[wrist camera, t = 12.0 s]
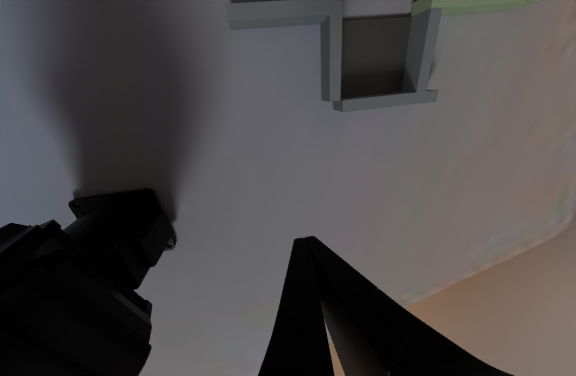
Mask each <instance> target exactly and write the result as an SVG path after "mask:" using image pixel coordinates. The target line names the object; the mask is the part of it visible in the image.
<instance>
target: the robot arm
mask: <svg viewBox="0 0 576 376" xmlns="http://www.w3.org/2000/svg"><path fill="white" fill-rule="evenodd" d="M146 193H148V194H149V195H150V196H147V195H146ZM76 203H77V204H78V205H79V206H78V205H77V204H76ZM68 205H69V207H70V209H71V210H72V212H73V213H74V215H75V216H76V218H77V220H76V221H75V222H73V223H72V224H71V225H69V226H68V227H67V228H65V229H64V230H62V229H61V228H60V227H61V225H60V224H58V223H57V222H56V221H55V220H54V219H53V220H51V221H48V222H46V223H44V224H41V225H39V226H38V225H35V226H31V225H29V226H25V225H20V224H15V223H10V224H7V225H5V226H3V227H0V376H139V374H140V372H141V371H142V369H143V367H144V365H145V363H146V361H147V359H148V356H149V354H150V351H151V345H150V344H149V340H150V334H151V329H152V325H151V321H150V319H151V311H152V304H151V303H150V302H149V301H148V300H144V299H143V298H142V297H141V296H139V295H138V294H137V293H136V292H135V291H134V289H138V288H139V286H140V285H141V283H142V281H143V279H144V278H145V276H146V274H147V272H148V270H149V269H150V267H154V266H155V265H156V264H157V262H158V260H159V259H160V257H161V255H162V253H163V251H167V250H172V249H174V247H175V245H176V241H175V239H174V237H173V230H172V228H171V225H170V223H169V221H168V218H167V216H166V214H165V211H163V210H162V208H161V206H160V204H159V201H158V199H157V197H156V194H155V192H154V191H153V190H152V189H139V190H132V191H125V192H118V193H110V194H103V195H96V196H88V197H81V198H75V199H73V200H71V201H70V202H69V204H68ZM169 244H171V245H169ZM324 320H325V322H326V325H327V328H328V330H329V333H330V336H331V339H332V341H333V344H334V347H335V349H336V352H337V355H338V357H339V360H340V363H341V365H342V368H343V371H344V373H345V376H514V375H511V374H508V373H506V372H503V371H501V370H499V369H496V368H494V367H492V366H490V365H488V364H486V363H485V362H483V361H481V360H479V359H477V358H476V357H474V356H473V355H471V354H470V353H468V352H467V351H465V350H464V349H462V348H461V347H459V346H458V345H456V344H455V343H453V342H452V341H451V340H449V339H448V338H446V337H445V336H443V335H442V334H440V333H439V332H437V331H436V330H434V329H433V328H431V327H430V326H428V325H427V324H426V323H424V322H423V321H421V320H420V319H418V318H417V317H415V316H414V315H413V314H411V313H410V312H408V311H407V310H406V309H404V308H403V307H402V306H400V305H399V304H398V303H396V302H395V301H394V300H393V299H391V298H390V297H389V296H387V295H386V294H385V293H384V292H383V291H381V290H380V289H378V288H377V287H376V286H375V285H374V284H373V283H371V282H370V281H369V280H368V279H366V278H365V277H364V276H363V275H361V274H360V273H359V272H358V271H357V270H355V269H354V268H353V267H352V266H350V265H349V264H348V263H347V262H346V261H344V260H343V259H342V258H341V257H339V256H338V255H337V254H336V253H334V252H333V251H332V250H331V249H330V248H328V247H327V246H326V245H325V244H323V243H322V242H321V241H320V240H318V239H317V238H316V237H315V236H309V237H305V238H297V239H294V243H293V247H292V251H291V256H290V260H289V265H288V269H287V273H286V278H285V282H284V286H283V291H282V295H281V300H280V304H279V309H278V312H277V316H276V321H275V325H274V328H273V332H272V336H271V339H270V342H269V345H268V348H267V351H266V354H265V357H264V360H263V363H262V365H261V368H260V371H259V374H258V376H334V370H333V365H332V359H331V354H330V349H329V343H328V338H327V333H326V327H325V322H324Z"/></svg>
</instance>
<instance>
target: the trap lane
mask: <svg viewBox="0 0 576 376" xmlns="http://www.w3.org/2000/svg"><path fill="white" fill-rule="evenodd" d="M537 1H540V0H417V1H416V2H414V3H412V9H411V16H410V17H397V18H382V19H367V20H353V21H342V14H343V0H282V1H264V2H247V3H229V4H226V10H227V16H228V22H229V24H230V27H231V30H233V29H248V28H262V27H277V26H291V25H305V24H320V23H321V91H322V100H323V101H328V102H332V101H333V109H334V110H338V111H341V112H346V111H355V110H364V109H373V108H381V107H390V106H399V105H408V104H417V103H426V102H434V101H436V98H437V93H438V90H427V84H428V79H429V74H430V69H431V64H432V59H433V53H434V48H435V43H436V38H437V33H438V27H439V22H440V17H441V15H450V14H464V13H479V12H493V11H507V10H510V9H513V8H517V7H520V6H523V5H527V4H530V3H533V2H537Z"/></svg>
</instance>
